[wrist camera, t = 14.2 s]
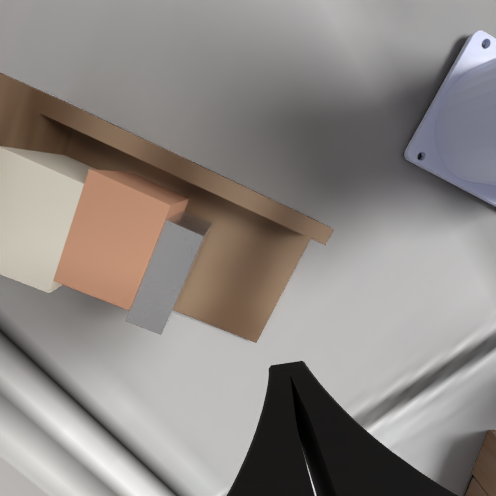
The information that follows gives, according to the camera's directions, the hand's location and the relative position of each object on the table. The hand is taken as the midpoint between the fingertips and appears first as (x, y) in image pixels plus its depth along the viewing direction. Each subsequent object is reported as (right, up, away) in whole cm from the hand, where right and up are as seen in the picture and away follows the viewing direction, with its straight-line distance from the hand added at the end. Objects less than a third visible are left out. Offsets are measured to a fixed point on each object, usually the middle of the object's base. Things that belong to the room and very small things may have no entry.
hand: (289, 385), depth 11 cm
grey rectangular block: (-6, +5, +8) cm, 11 cm away
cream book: (-12, +8, +7) cm, 16 cm away
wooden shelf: (-7, +6, +8) cm, 13 cm away
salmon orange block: (-9, +7, +8) cm, 13 cm away
